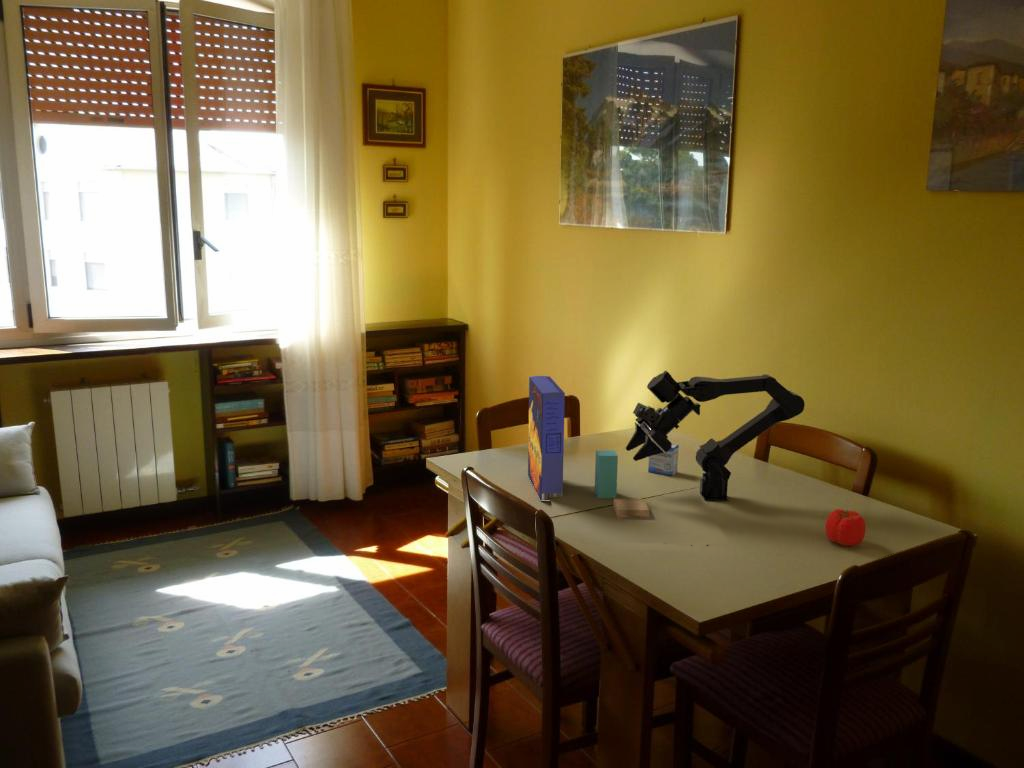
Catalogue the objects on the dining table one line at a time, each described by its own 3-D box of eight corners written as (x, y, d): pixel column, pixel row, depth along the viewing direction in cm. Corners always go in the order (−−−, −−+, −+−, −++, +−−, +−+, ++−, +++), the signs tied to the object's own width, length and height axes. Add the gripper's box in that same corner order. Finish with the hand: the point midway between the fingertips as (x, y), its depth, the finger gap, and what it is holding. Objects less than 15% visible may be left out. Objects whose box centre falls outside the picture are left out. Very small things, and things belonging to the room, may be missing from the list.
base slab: (647, 512, 221) (647, 505, 221) (653, 526, 212) (653, 519, 211) (608, 512, 221) (609, 505, 221) (613, 526, 212) (613, 519, 211)
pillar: (612, 495, 232) (614, 450, 229) (616, 502, 227) (617, 455, 224) (594, 496, 231) (595, 450, 229) (597, 502, 226) (599, 455, 224)
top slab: (644, 506, 220) (644, 499, 220) (649, 517, 212) (649, 510, 212) (613, 506, 220) (613, 499, 220) (617, 517, 212) (617, 509, 212)
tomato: (824, 533, 206) (827, 504, 205) (863, 539, 203) (866, 509, 201) (823, 547, 198) (826, 517, 196) (864, 553, 194) (867, 522, 193)
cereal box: (528, 476, 248) (529, 375, 242) (548, 475, 249) (549, 375, 242) (540, 501, 227) (542, 392, 220) (562, 500, 228) (564, 391, 221)
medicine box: (647, 472, 253) (648, 444, 251) (652, 468, 256) (653, 440, 255) (673, 476, 249) (674, 447, 247) (677, 472, 253) (679, 444, 251)
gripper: (644, 386, 233) (603, 425, 234) (661, 401, 215) (617, 444, 216) (671, 413, 235) (630, 452, 237) (690, 431, 217) (646, 473, 219)
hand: (630, 454), depth 227 cm, fingers open, 9 cm apart
